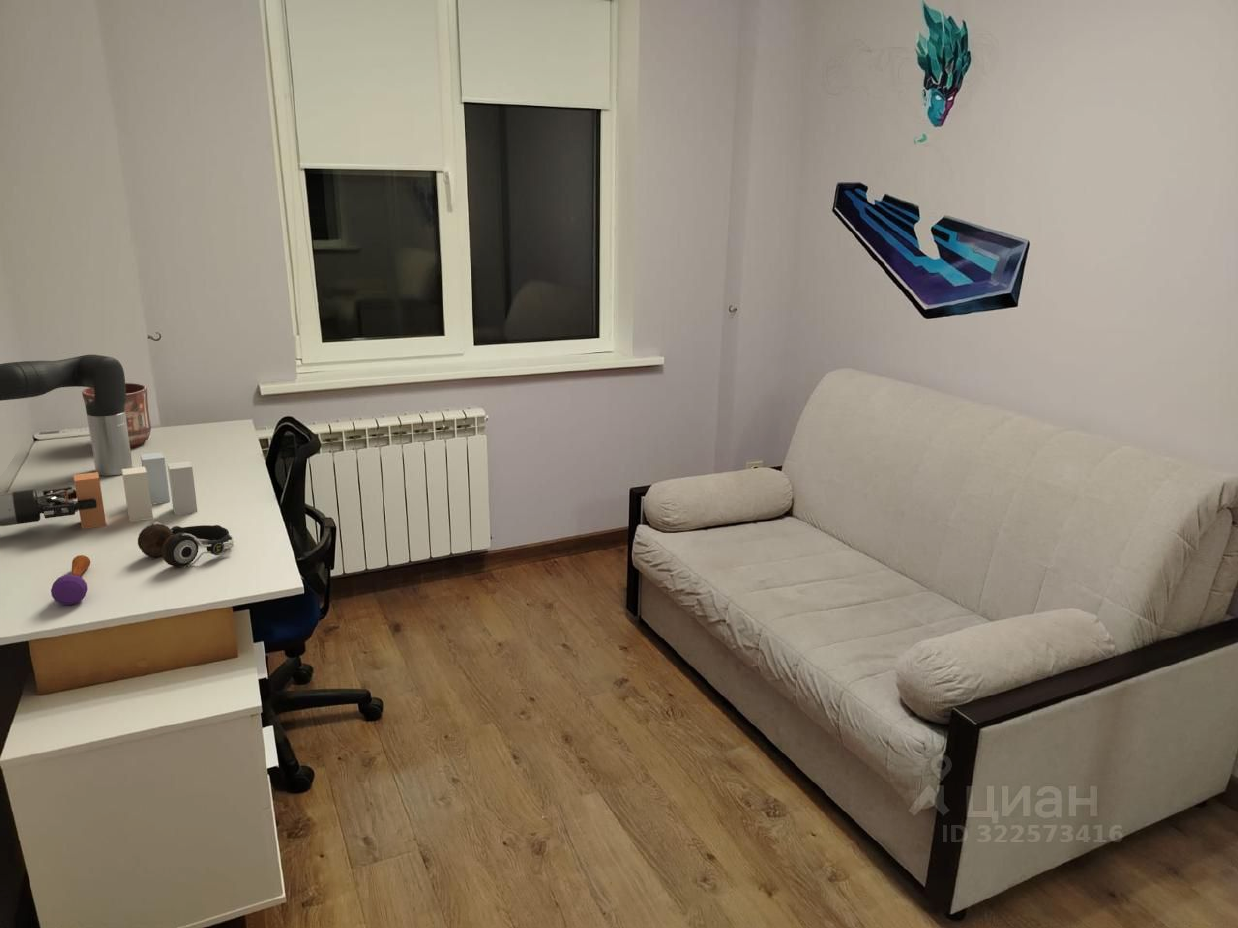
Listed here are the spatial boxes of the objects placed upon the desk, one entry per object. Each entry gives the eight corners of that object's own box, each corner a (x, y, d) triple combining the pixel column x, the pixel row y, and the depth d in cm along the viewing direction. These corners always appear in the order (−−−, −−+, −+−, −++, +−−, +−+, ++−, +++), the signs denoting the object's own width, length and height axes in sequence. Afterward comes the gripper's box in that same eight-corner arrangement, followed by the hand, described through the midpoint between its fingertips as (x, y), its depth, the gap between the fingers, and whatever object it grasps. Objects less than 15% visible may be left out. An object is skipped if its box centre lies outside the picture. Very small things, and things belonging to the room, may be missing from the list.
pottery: (76, 447, 263) (67, 390, 258) (127, 434, 279) (120, 380, 273) (117, 456, 257) (109, 398, 251) (167, 442, 272) (160, 387, 267)
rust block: (81, 521, 207) (73, 474, 203) (105, 518, 210) (97, 472, 206) (82, 528, 203) (74, 480, 199) (106, 525, 206) (99, 477, 202)
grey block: (173, 508, 217) (167, 463, 214) (194, 505, 220) (189, 461, 216) (175, 514, 213) (169, 469, 210) (197, 511, 216) (192, 466, 212)
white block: (146, 498, 224) (140, 454, 220) (167, 495, 226) (162, 452, 223) (148, 504, 220) (142, 460, 216) (170, 501, 222) (164, 457, 219)
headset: (127, 521, 187) (211, 509, 204) (127, 555, 189) (210, 540, 206) (174, 539, 179) (257, 524, 196) (173, 574, 180) (256, 557, 197)
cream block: (128, 515, 212) (121, 469, 209) (150, 511, 215) (144, 466, 211) (130, 521, 208) (123, 474, 205) (153, 518, 211) (146, 472, 207)
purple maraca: (98, 549, 183) (86, 580, 165) (96, 576, 184) (84, 609, 166) (65, 548, 180) (49, 579, 162) (63, 575, 181) (47, 609, 163)
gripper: (9, 502, 190) (94, 491, 198) (11, 483, 201) (91, 474, 209) (15, 533, 192) (99, 521, 200) (17, 513, 203) (96, 502, 212)
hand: (95, 497), depth 205 cm, fingers open, 8 cm apart
